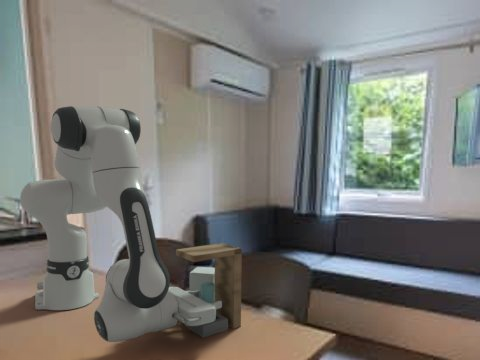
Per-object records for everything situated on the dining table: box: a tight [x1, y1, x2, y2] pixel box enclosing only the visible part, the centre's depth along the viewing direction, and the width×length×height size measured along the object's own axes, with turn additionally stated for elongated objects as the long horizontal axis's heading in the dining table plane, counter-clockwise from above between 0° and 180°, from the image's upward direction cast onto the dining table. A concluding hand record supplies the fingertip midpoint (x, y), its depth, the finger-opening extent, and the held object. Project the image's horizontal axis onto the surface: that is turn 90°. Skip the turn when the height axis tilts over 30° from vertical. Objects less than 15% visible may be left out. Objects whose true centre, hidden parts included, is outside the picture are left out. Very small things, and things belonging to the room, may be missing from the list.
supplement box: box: [188, 266, 215, 299], centre depth 115 cm, size 7×7×13 cm
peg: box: [201, 282, 214, 304], centre depth 103 cm, size 4×4×12 cm
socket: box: [186, 312, 229, 339], centre depth 103 cm, size 8×8×3 cm
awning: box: [175, 242, 243, 330], centre depth 103 cm, size 9×15×22 cm, turn 129°
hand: (210, 298), depth 103 cm, fingers open, 8 cm apart
